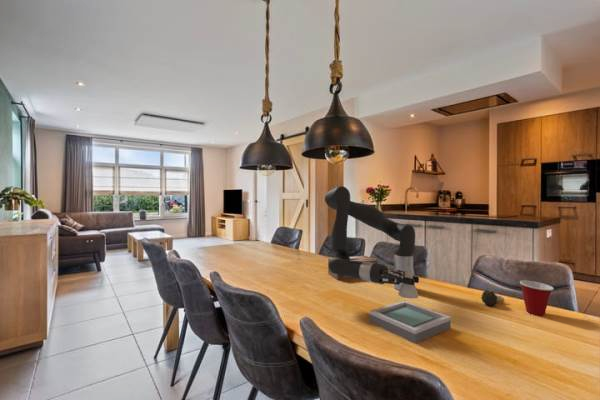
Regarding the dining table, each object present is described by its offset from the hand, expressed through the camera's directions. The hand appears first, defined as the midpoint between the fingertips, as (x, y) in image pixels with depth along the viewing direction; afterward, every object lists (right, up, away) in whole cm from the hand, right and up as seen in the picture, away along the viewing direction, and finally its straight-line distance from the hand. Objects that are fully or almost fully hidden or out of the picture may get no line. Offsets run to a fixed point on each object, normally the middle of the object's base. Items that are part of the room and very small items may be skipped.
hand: (416, 281), depth 108 cm
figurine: (+44, -17, +25) cm, 53 cm away
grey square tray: (-2, -17, +2) cm, 17 cm away
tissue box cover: (-10, -17, +73) cm, 75 cm away
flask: (-2, -6, +2) cm, 7 cm away
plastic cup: (+53, -17, +12) cm, 57 cm away
